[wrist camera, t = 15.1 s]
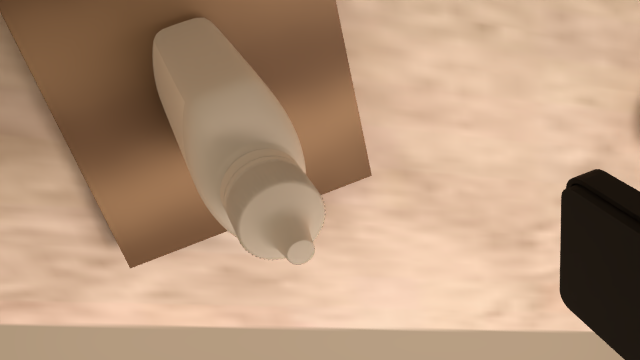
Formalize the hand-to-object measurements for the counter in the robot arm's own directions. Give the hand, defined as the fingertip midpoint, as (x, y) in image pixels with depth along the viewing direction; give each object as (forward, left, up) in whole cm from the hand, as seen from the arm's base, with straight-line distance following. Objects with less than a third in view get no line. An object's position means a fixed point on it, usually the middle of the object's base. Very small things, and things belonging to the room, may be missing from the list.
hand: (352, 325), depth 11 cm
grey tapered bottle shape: (0, 0, -16) cm, 16 cm away
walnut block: (0, 0, -19) cm, 19 cm away
